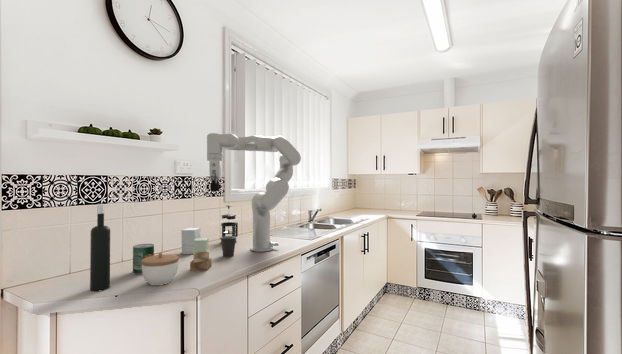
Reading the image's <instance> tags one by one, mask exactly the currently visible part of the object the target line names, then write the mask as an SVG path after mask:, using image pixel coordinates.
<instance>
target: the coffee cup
mask: <svg viewBox="0 0 622 354" xmlns="http://www.w3.org/2000/svg"><path fill="white" fill-rule="evenodd" d="M219 240H220V244H221V243H222V244H221V250H222V258H230V257H232V258H233V257H234V256H235V249H236V248H235V246H236V243H235V240H236V241H237V237H234V236H232V235H225V236H223V237H222V236H221V237H220V238H219Z"/></svg>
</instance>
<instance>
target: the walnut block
mask: <svg viewBox="0 0 622 354" xmlns="http://www.w3.org/2000/svg"><path fill="white" fill-rule="evenodd" d="M212 260H213V259H212V257H209V261H204V262H194V259H193V260H191V261H190V262H189V270H190V272H207V271H209V270H210V269H211V268H212V264H213V263H212Z"/></svg>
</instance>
